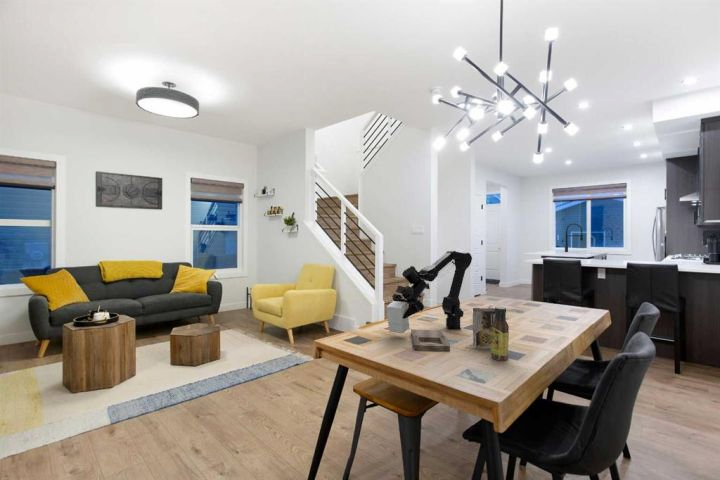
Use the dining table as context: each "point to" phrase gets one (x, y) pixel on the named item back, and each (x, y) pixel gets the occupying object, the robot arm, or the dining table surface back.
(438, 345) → the cutout board
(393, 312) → the supplement box
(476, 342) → the coffee box
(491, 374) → the dining table surface
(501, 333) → the sauce bottle
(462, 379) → the dining table surface
